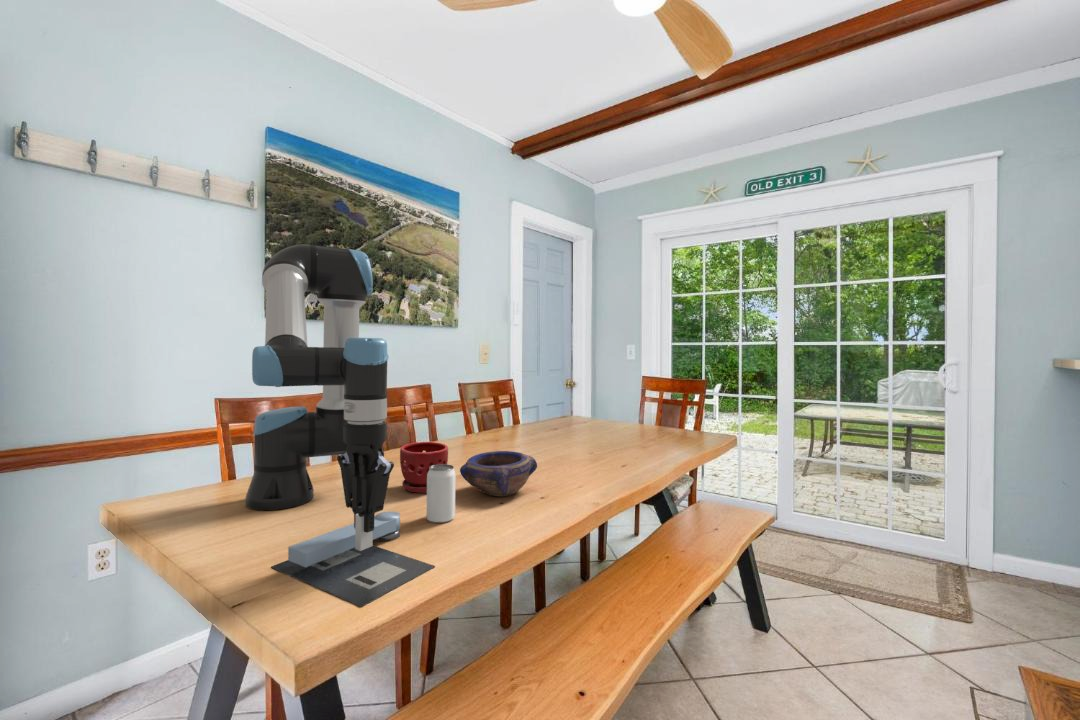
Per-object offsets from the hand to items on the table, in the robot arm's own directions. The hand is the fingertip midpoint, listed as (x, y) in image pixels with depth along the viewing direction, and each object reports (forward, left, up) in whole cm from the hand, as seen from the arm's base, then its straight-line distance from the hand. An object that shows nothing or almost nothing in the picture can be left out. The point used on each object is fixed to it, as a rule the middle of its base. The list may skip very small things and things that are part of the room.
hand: (363, 547), depth 89 cm
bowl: (-4, +48, -3) cm, 48 cm away
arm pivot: (-5, +10, -2) cm, 11 cm away
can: (-3, +24, -3) cm, 24 cm away
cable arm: (-5, +1, -1) cm, 5 cm away
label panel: (+1, -3, -2) cm, 4 cm away
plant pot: (-23, +39, -3) cm, 45 cm away
